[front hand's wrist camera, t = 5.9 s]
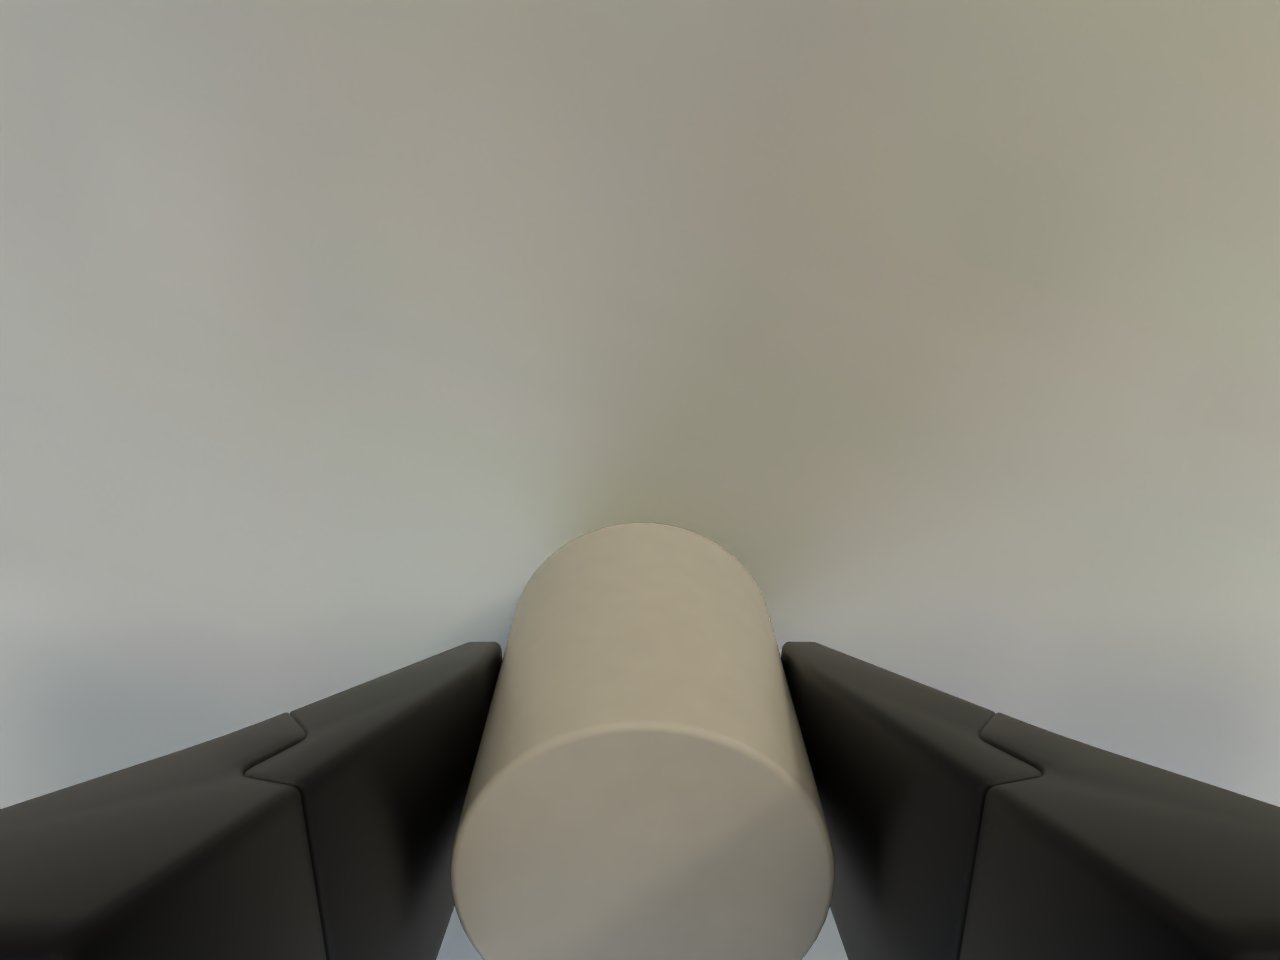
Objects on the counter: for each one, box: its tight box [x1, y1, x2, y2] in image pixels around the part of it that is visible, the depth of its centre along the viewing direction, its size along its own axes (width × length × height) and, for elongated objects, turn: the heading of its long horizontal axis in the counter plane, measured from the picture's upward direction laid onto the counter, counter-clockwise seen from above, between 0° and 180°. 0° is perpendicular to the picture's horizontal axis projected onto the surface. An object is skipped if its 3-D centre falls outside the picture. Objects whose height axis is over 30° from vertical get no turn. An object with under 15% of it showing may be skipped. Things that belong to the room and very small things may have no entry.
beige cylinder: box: [450, 523, 835, 960], centre depth 10 cm, size 4×4×4 cm
